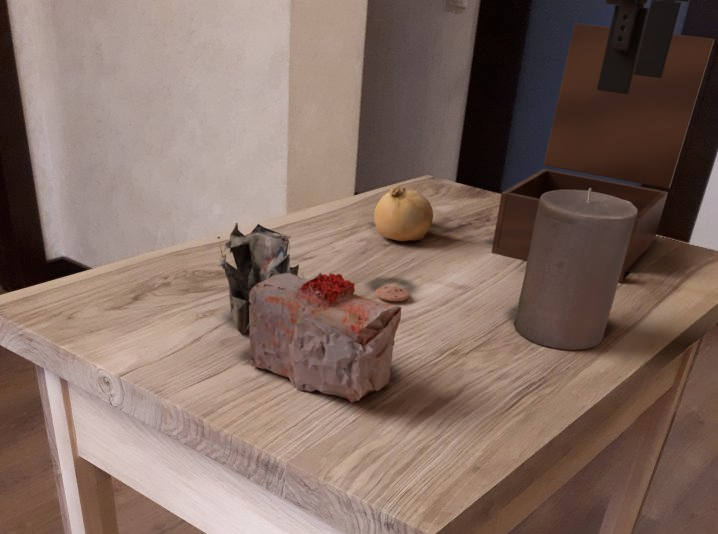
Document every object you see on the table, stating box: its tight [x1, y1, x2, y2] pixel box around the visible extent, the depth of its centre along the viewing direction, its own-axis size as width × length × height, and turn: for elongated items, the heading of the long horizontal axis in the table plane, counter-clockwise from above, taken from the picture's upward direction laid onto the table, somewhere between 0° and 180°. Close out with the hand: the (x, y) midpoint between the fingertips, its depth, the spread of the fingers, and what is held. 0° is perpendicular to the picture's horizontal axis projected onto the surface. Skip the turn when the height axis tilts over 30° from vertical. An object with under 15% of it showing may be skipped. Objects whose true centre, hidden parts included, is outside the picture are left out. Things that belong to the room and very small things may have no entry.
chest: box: [491, 168, 669, 284], centre depth 107 cm, size 17×18×8 cm
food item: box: [248, 272, 402, 403], centre depth 71 cm, size 14×8×10 cm, turn 58°
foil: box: [217, 222, 305, 335], centre depth 85 cm, size 12×11×15 cm
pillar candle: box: [513, 188, 638, 351], centre depth 82 cm, size 10×10×15 cm
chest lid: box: [543, 22, 715, 189], centre depth 106 cm, size 18×18×1 cm
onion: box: [373, 185, 434, 242], centre depth 107 cm, size 8×8×7 cm
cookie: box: [374, 285, 411, 302], centre depth 91 cm, size 4×4×1 cm
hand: (631, 83), depth 76 cm, fingers open, 13 cm apart
